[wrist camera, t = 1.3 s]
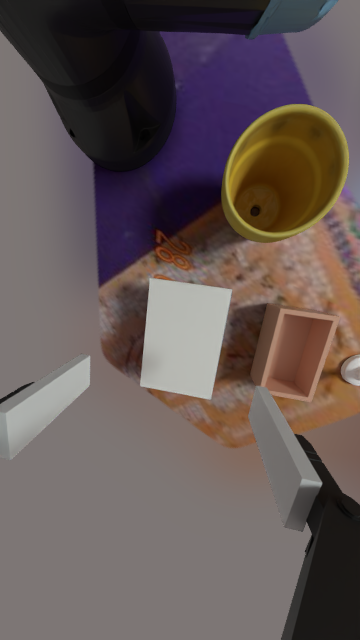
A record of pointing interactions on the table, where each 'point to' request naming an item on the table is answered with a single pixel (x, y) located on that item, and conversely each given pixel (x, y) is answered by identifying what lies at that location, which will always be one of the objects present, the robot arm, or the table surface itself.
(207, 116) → the table surface
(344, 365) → the chess piece
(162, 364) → the board
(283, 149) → the plant pot
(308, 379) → the open box
